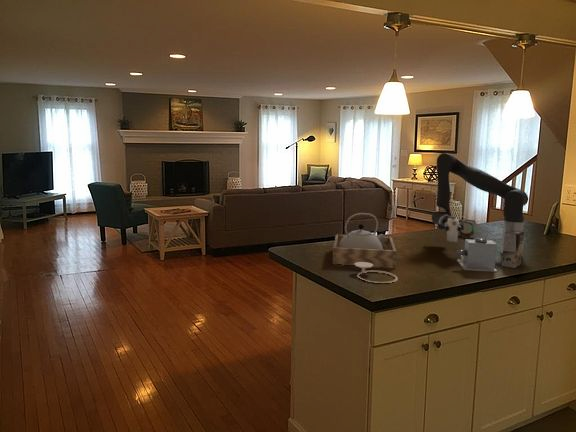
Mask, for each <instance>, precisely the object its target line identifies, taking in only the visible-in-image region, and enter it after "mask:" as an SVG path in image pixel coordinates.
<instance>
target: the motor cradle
mask: <svg viewBox="0 0 576 432" xmlns="http://www.w3.org/2000/svg"><path fill="white" fill-rule="evenodd" d="M464 241H465V242H464V249H456V253H455V254H456V256H461V257H460V258H461V259H460V258H459V259H456V262H457V263H458V264H459V265H460V266H461V268H462V269H463V270H464V271H471V272H472V271H476V272H492V273H494V272H495V273H498V270H497V269H496V268H495V267H496V260H497V251H498V250H497V247H498V244H497V243H496V242H495V241H494V240H490V239H489V240H488V239H487V238H482V237H475V238H474V239H468V238H466V239H464Z"/></svg>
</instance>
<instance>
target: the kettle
mask: <svg viewBox="0 0 576 432" xmlns="http://www.w3.org/2000/svg"><path fill="white" fill-rule="evenodd" d="M361 215H363V216H365V215H366V216H371V217H372V218H373V219H375V222H376V227H375V230H374V232H373V233H372V232H371V231H369V230H364V228H365V226H364V224H363V223H360V224H358V229H356V230H352V231H350V232H348V230H347V228H348V227H347V226H348V223H349V221H350V220H351V219H352V218H355V217H356V216H361ZM344 225H345V226H344V232H345V234H344V235H345V236H344V237H343V238H342V239H341V241H340V243H339V245H338V248H356V249H376V250H383V247H382V244H381V242H380V241H381V240H382V239H383V238H384V237H386V235H385V234H383V233H380V234H378V235H376V234H377V231H378V229H379V221H378V218H377V217H376V216H375V214H372V213H368V212H367V213H366V212H358V213H355V214H352V215H350V216H349V217H348V218H347V219H346V221H345V224H344ZM376 236H377V237H376Z"/></svg>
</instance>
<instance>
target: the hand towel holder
mask: <svg viewBox="0 0 576 432" xmlns="http://www.w3.org/2000/svg"><path fill="white" fill-rule="evenodd" d="M354 264H355V266H354V267H357V268H360V269H361V271H360V272H358V273H357V275H356V278H357V277H358V278H360V279H362V280H365V281H368V282H374V283H391V284H393V283H392V282H394V283H397V281H398V277H397V275H395V274H394V273H392V272H389V271H384V270H373V269H371V270H366V269H369V268H373V267H372V266H373V264H372V263H368V262H356V263H354ZM367 272H378V273H377V274H382V273H385V274H384V275H387V274H389V275H388V276H390V275H391V277H393V278H394V277H395V278H394V279H393V280H389V281H373V280H369V279H365V278H362V277H361V275H363V274H362V273H366V274H368V273H367ZM360 274H361V275H360ZM359 275H360V276H359ZM358 278H357V279H358Z"/></svg>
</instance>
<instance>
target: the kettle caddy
mask: <svg viewBox="0 0 576 432" xmlns="http://www.w3.org/2000/svg"><path fill="white" fill-rule="evenodd" d="M345 235H346V234H335V237H334V243H333V246H332V264H342V265H341V266H344V265H355V264H354V263H356V262H368V263H372V264H373V266H372V267H371V268H380V267H383V269H396V266H397V265H396V264H397V263H396V262H397V248H396V247H395V246H396V245H395V243H394V239H393V238H392V237H391V236H385V237H384V238H383V239H382V240H381V241H380V242H381V244H382V247H383V250H376V249H356V248H338V245H339V243H340V241H341V239H342V238H343V237H344V236H345ZM375 236H376V237H377V236H378V235H375Z"/></svg>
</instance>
